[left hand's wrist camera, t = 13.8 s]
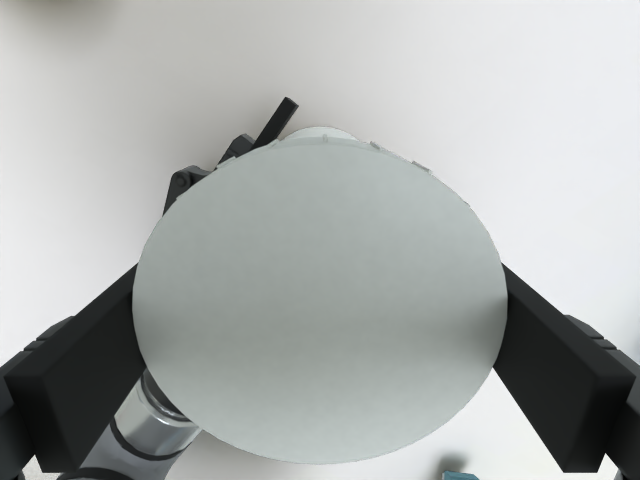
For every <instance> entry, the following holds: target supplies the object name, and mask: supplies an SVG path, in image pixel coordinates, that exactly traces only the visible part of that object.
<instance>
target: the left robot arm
mask: <svg viewBox="0 0 640 480" xmlns="http://www.w3.org/2000/svg"><path fill="white" fill-rule="evenodd" d="M138 263H139V262H138ZM138 263H137V264H136V265H135V266H134V267H132V268H131V269H130V270H129V271H128V272H126V273H125V274H124V275H123V276H122V277H120V278H119V279H118V280H117V281H116V282H115V283H113V284H112V285H111V286H110V287H109V288H107V289H106V290H105V291H104V292H103V293H101V294H100V295H99V296H98V297H97V298H96V299H94V300H93V301H92V302H91V303H90V304H88V305H87V306H86V307H85V308H84V309H83V310H81V311H80V312H79V313H78V314H77V315H75V316H70V317H68V318H66V319H64V320H63V321H61V322H59V323H57V324H55V325H53V326H51V327H50V328H49V329H47V330H46V331H45V332H44V333H42V334H41V335H40V336H39V337H37V338H36V341H33V342H31V343H30V344H29V345H28V346H26V347H25V348H24V351H20V352H19V353H18V354H16V355H15V356H14V357H13V358H11V359H10V360H9V361H8V362H7V363H5V364H4V365H3V366H2V367H0V480H25V476H24V474H23V471H22V469H23V468H24V467H25V465H26V464H27V463H28V462H29V461H30V459H31V458H32V457H33V456H34V455H35V456H36V458H37V460H38V463H39V465H40V468H41V470H42V473H76V472H77V471H78V469H79V468H80V466H81V465H82V463H83V462H84V460H85V459H86V457H87V456H88V454H89V453H90V451H91V450H92V448H93V447H94V445H95V444H96V442H97V441H98V439H99V438H100V436H101V435H102V434H103V432H104V431H105V429H106V428H107V426H108V425H109V423H110V422H111V420H112V419H113V417H114V416H115V414H116V413H117V411H118V410H119V408H120V407H121V405H122V404H123V402H124V401H125V399H126V398H127V396H128V395H129V393H130V392H131V390H132V389H133V387H134V386H135V384H136V383H137V381H138V380H139V378H140V377H141V375H142V374H143V372H144V371H145V369H146V368H147V365H146V363H145V361H144V358H143V356H142V354H141V352H140V349H139V345H138V341H137V336H136V332H135V328H134V321H133V313H132V300H133V285H134V280H135V275H136V270H137V266H138ZM501 264H502V267H503V271H504V274H505V281H506V288H507V296H508V304H507V322H506V326H505V331H504V336H503V340H502V344H501V347H500V350H499V353H498V356H497V359H496V361H495V363H494V365H493V368H494V370H495V371H496V373H497V374H498V376H499V377H500V379H501V380H502V382H503V383H504V385H505V386H506V388H507V389H508V391H509V392H510V394H511V395H512V397H513V398H514V400H515V401H516V403H517V404H518V406H519V407H520V408H521V410H522V411H523V413H524V414H525V416H526V417H527V419H528V420H529V422H530V423H531V425H532V426H533V428H534V429H535V431H536V432H537V434H538V435H539V437H540V438H541V440H542V441H543V443H544V444H545V446H546V447H547V449H548V450H549V452H550V453H551V455H552V456H553V458H554V459H555V461H556V462H557V464H558V465H559V467H560V468H561V470H562V471H563V473H597V472H598V470H599V467H600V465H601V462H602V460H603V457H604V455H605V453H606V454H607V455H608V456H609V458H610V459H611V460H612V461H613V462H614V464H615V465H616V466H617V467H618V468H619V469H618V471H617V474H616V476H615V478H614V480H640V366H639V365H638V364H637V363H636V362H634V361H633V360H632V359H631V358H629V357H628V356H627V355H626V354H624V353H623V352H622V351H621V350H617V349H616V346H614V345H613V344H612V343H611V342H609V341H608V340H604V337H603V336H602V335H601V334H599V333H598V332H597V331H596V330H594V329H593V328H592V327H591V326H589V325H588V324H586V323H584V322H582V321H580V320H578V319H576V318H574V317H572V316H570V315H563V314H562V313H561V312H560V311H558V310H557V309H556V308H555V307H554V306H552V305H551V304H550V303H549V302H548V301H547V300H545V299H544V298H543V297H542V296H541V295H539V294H538V293H537V292H536V291H535V290H534V289H532V288H531V287H530V286H529V285H528V284H526V283H525V282H524V281H523V280H522V279H520V278H519V277H518V276H517V275H516V274H515V273H513V272H512V271H511V270H510V269H509V268H507V267H506V266H505V265H504V264H503V263H501Z"/></svg>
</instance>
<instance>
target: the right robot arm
mask: <svg viewBox="0 0 640 480" xmlns="http://www.w3.org/2000/svg"><path fill="white" fill-rule="evenodd" d="M297 108H298V105H297V104H296V103H295V102H293V101H292V100H291V99H290V98H287V97H285V98H284V100H283V101H282V103H281V104H280V105H279V107H278V108H277V110H276V111H275V113H274V114H273V116H272V117H271V119H270V120H269V122H268V123H267V125H266V126H265V128H264V129H263V131H262V132H261V134H260V135H259V137H258V138H257V140H256V141H255V140H254V139H252V138H251V137H250V136H248V135H247V134H243V135H240V136H239V137H237V138H236V139H234V140H233V142H232V143H231V145H230V146H229V148H228V149H227V151H226V152H225V154H224V156H223V157H222V159H221V160H220V162H219V163H218V165H219V164H221V163H223V162H224V161H226V160H228V159H230V158H232V157H234V156H235V158H238V157H240V156H242V155H244V154H246V153H248V152H250V151H252V150H254V149H257V148H260V147H263V146H266V145H268V144H269V143H271V142H272V141H274V140H275V139H276V138H277V137H278V135H279V134H280V133H281V131H282V130H283V128H284V127H285V125H286V124H287V122H288V121H289V120H290V118H291V117H292V115H293V114H294V112H295V111H296V109H297ZM215 170H217V167H216V168H215V169H214V171H215ZM214 171H213V172H214ZM211 173H212V172H209V171H205V170H201V169H200V168H199V167H197V166H189V167H187V168H185V169H182V170H180V171H178V172H176V173H174V174H173V175H172V178H171V182H170V186H169V190H168V195H167V199H166V203H165V207H164V212H163V216H164V214H165V213H166V212H167V211H168V209H169V208H170V207H171V206H172V204H173V203H174V202H175V201H177V199H176V198H177V197H178V196H180V195H181V194H183V193H185V192H186V191H187V190H188V189H189V188H191V187H192V186H193V185H195V184H196V183H197V182H199V181H200V180H202V179H203V178H205V177H206V176H208V175H209V174H211ZM163 216H162V217H163ZM202 430H203V429H201V428H200V427H199V426H198V425H196V424H195V423H194V422H192V421H191V420H190V419H188V418H187V417H186V416H185V415H184V414H183V413H182V412H181V411H180V410H179V409H178V408H177V407H176V406H175V405H174V404H173V403H172V402H171V401H170V400H169V399H168V397H167V396H166V395H165V394H164V392H163V391H162V390H161V389H160V387H159V386H158V385H157V383H156V381H155V380H154V378H153V376H152V375H151V373H150V371H149V370H148V368H146V369H145V371H144V372H143V374H142V375H141V377H140V378H139V380H138V381H137V383H136V384H135V386H134V387H133V389H132V390H131V392H130V393H129V395H128V396H127V398H126V399H125V401H124V402H123V404H122V405H121V407H120V408H119V410H118V411H117V413H116V414H115V416H114V417H113V419H112V420H111V422H110V423H109V425H108V426H107V428H106V429H105V431H104V432H103V434H102V435H101V436H100V438H99V439H98V441H97V442H96V444H95V445H94V447H93V448H92V450H91V451H90V453H89V454H88V456H87V457H86V459H85V460H84V462H83V463H82V465H81V466H80V468H79V469H78V471H77V472H76V473H61V474H60V475H59V476H58V478H57V479H56V480H164V479H165V477H166V475H167V473H168V471H169V469H170V468H171V466H172V465H173V463H174V462H175V461H176V460H177V459H178V457H179V456H180V455H181V454H182V453H183V451H184V450H185V449H186V448H187V447H188V446H189V445H190V443H191V442H192V441H193V440H194V439H195V438H196V436H197V435H198V434H199V433H200V432H201V431H202Z"/></svg>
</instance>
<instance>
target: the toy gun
mask: <svg viewBox="0 0 640 480" xmlns="http://www.w3.org/2000/svg"><path fill="white" fill-rule="evenodd" d="M442 480H479V479H478V478H477V477H476V476H475V475H474V474H467V473H459V472H451V471H445V473H444V472H443V473H442Z"/></svg>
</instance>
